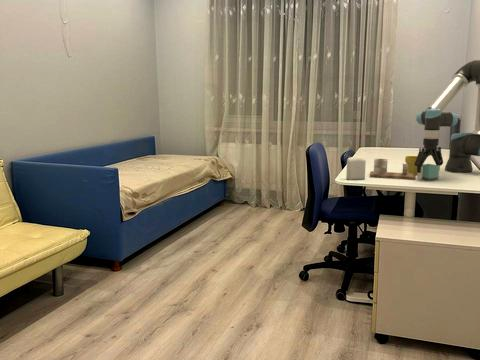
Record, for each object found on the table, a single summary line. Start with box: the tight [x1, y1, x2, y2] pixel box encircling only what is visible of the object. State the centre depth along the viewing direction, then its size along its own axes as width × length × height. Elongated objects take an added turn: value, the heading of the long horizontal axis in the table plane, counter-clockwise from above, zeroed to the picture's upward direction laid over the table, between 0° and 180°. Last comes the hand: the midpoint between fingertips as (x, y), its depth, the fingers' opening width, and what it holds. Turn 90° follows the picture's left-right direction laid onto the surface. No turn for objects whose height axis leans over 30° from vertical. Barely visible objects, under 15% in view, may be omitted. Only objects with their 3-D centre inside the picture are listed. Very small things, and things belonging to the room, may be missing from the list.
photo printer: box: [345, 156, 367, 180], centre depth 238 cm, size 10×4×12 cm, turn 96°
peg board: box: [369, 157, 417, 181], centre depth 246 cm, size 24×12×10 cm, turn 71°
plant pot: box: [404, 155, 418, 175], centre depth 257 cm, size 10×10×10 cm
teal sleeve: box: [419, 163, 440, 182], centre depth 238 cm, size 7×7×8 cm
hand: (427, 177), depth 238 cm, fingers open, 12 cm apart
